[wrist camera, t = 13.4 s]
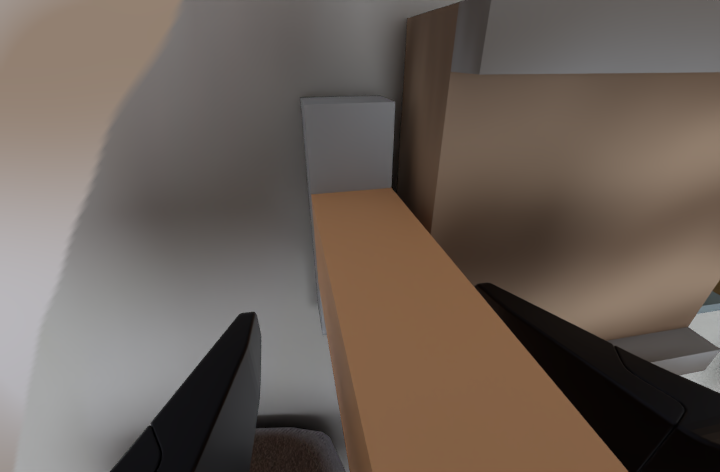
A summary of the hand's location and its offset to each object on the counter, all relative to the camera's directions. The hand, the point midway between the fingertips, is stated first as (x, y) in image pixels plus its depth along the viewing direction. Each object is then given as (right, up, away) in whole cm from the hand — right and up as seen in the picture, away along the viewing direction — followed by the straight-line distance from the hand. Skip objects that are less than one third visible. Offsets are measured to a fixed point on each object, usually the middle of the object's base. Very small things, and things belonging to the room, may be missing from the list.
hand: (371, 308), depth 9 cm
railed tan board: (+9, +4, +7) cm, 12 cm away
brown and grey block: (-1, +3, +5) cm, 6 cm away
